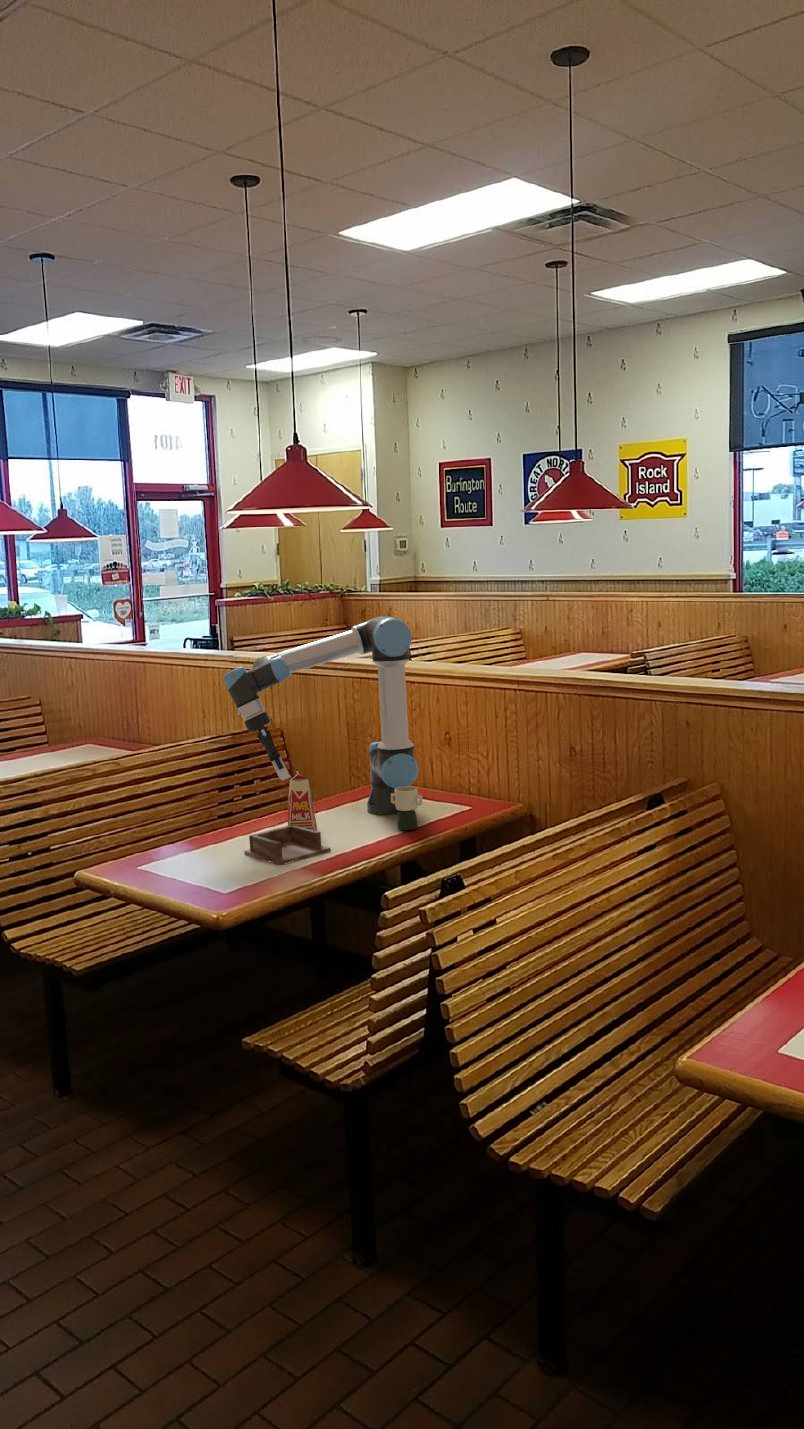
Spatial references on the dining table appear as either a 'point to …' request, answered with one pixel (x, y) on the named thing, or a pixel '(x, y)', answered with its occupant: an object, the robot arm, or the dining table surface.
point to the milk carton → (301, 804)
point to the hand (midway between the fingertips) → (285, 778)
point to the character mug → (406, 806)
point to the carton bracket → (286, 844)
